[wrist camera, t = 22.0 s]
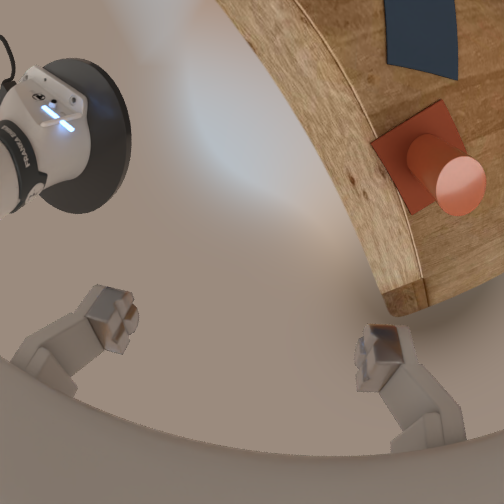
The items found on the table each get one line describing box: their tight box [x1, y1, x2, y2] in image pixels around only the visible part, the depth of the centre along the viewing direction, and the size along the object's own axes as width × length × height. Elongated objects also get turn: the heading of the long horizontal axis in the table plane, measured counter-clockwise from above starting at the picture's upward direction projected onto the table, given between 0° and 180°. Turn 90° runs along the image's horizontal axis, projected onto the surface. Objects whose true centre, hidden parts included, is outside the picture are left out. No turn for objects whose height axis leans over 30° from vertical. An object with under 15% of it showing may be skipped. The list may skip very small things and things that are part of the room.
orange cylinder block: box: [407, 134, 486, 216], centre depth 27 cm, size 7×7×10 cm
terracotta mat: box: [371, 99, 467, 215], centre depth 31 cm, size 12×12×1 cm
